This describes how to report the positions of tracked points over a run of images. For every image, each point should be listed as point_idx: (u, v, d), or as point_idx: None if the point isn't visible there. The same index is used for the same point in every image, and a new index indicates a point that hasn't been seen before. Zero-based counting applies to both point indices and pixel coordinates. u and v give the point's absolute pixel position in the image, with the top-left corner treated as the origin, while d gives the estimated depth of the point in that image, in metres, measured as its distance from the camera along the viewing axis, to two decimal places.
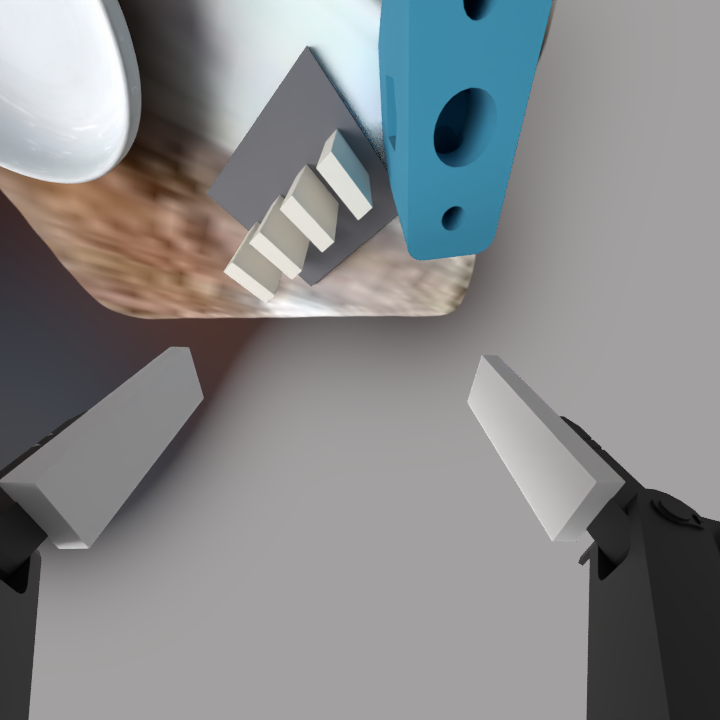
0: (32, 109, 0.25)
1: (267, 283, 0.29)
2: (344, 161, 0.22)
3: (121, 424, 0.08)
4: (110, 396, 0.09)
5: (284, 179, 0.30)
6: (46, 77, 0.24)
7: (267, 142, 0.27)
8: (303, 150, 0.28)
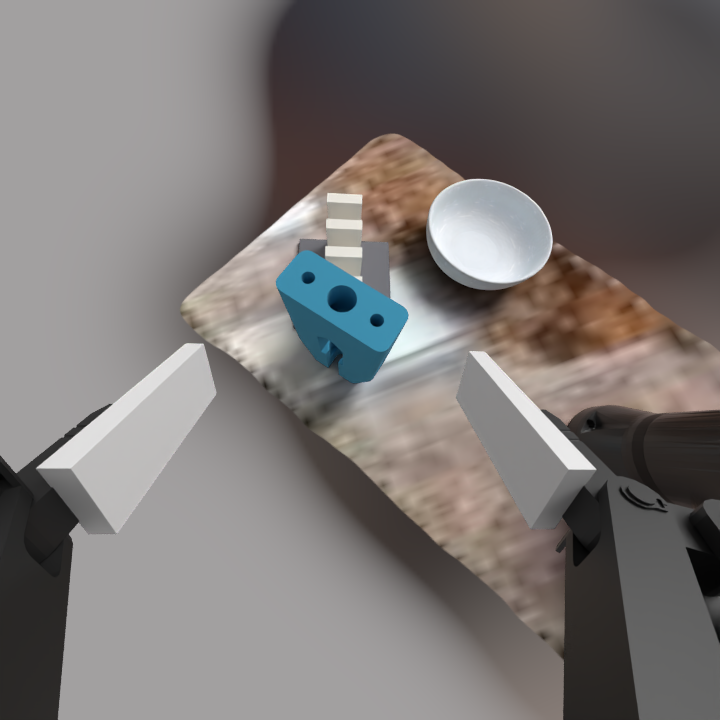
0: (459, 219, 0.51)
1: (335, 207, 0.39)
2: None
3: (144, 416, 0.08)
4: (133, 389, 0.09)
5: None
6: (459, 236, 0.50)
7: (380, 286, 0.47)
8: None
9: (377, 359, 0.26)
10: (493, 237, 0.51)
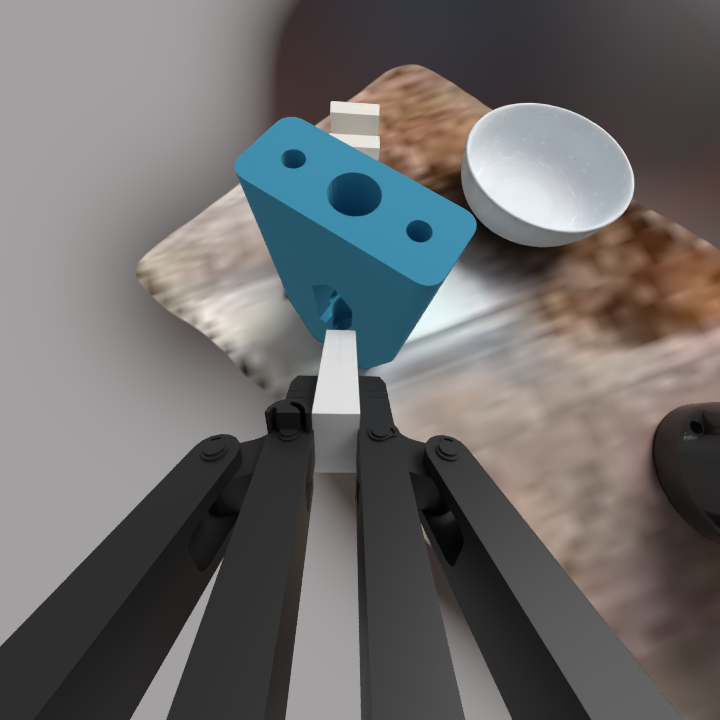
0: (501, 162, 0.40)
1: (341, 122, 0.28)
2: None
3: None
4: None
5: None
6: (501, 183, 0.39)
7: None
8: None
9: (415, 310, 0.15)
10: (544, 185, 0.39)
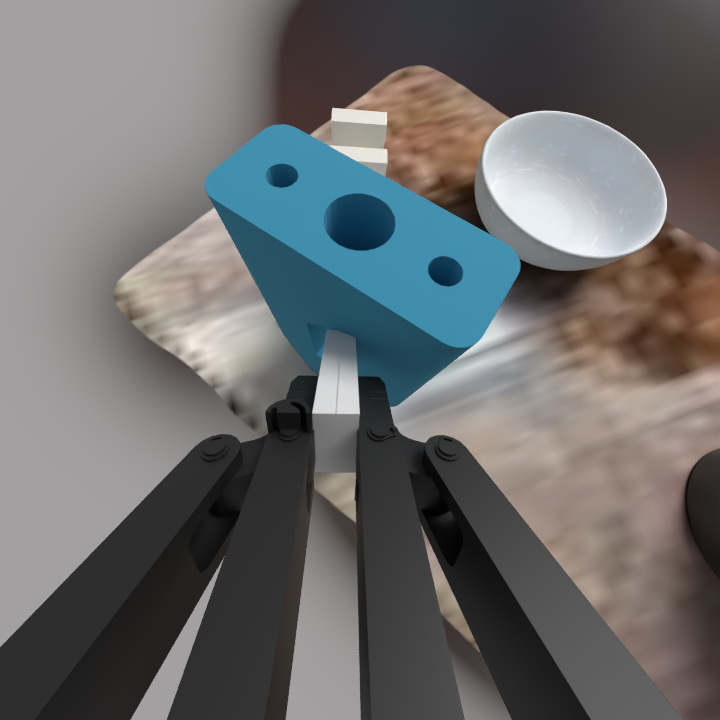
0: (516, 174, 0.36)
1: (344, 132, 0.25)
2: None
3: None
4: (321, 363, 0.11)
5: None
6: (517, 197, 0.36)
7: None
8: None
9: (436, 368, 0.11)
10: (564, 199, 0.36)
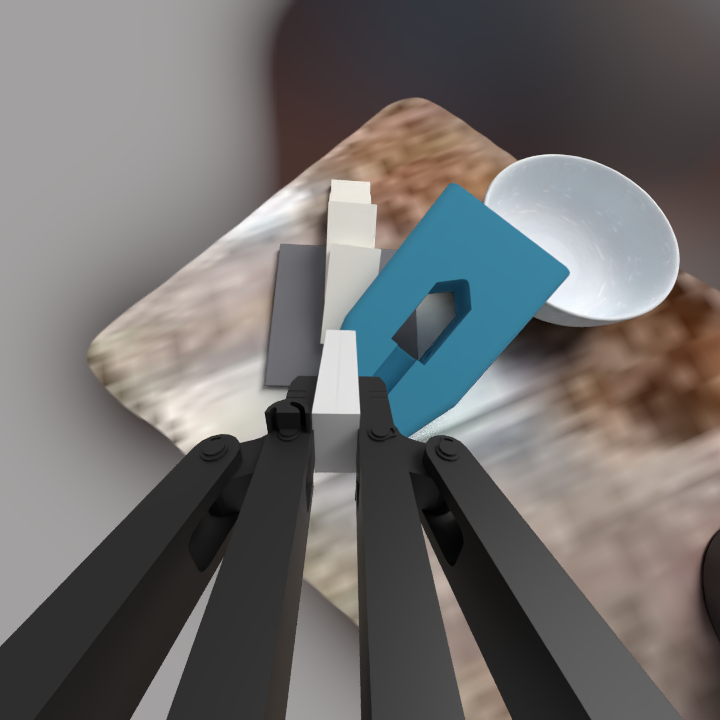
0: (519, 216, 0.35)
1: (340, 185, 0.35)
2: (364, 270, 0.27)
3: None
4: None
5: None
6: None
7: None
8: None
9: (546, 297, 0.21)
10: (568, 243, 0.34)
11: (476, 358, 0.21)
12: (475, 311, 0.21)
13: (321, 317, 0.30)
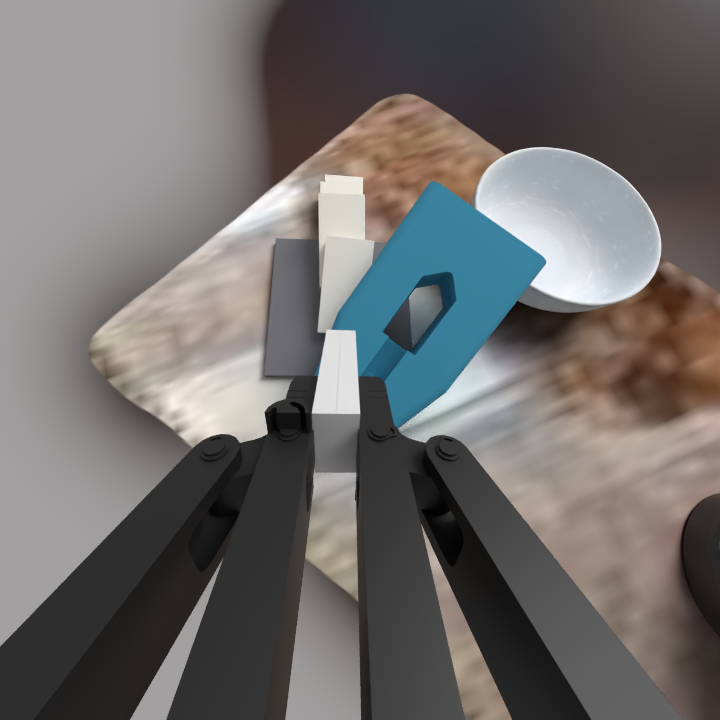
0: (509, 208, 0.36)
1: (333, 180, 0.36)
2: (358, 260, 0.28)
3: None
4: None
5: None
6: (510, 231, 0.35)
7: None
8: None
9: (525, 285, 0.22)
10: (557, 233, 0.36)
11: (463, 346, 0.23)
12: (460, 301, 0.23)
13: (317, 309, 0.31)
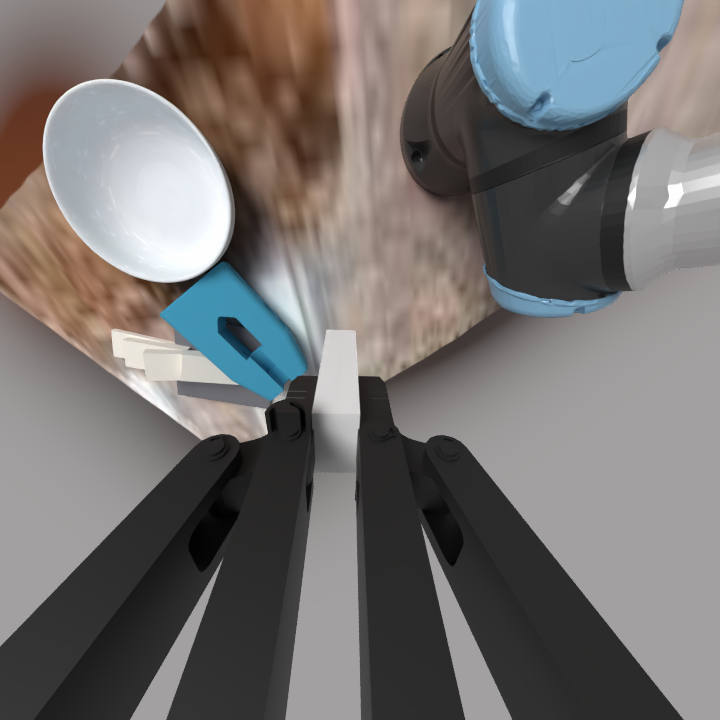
0: (120, 207, 0.37)
1: (118, 351, 0.47)
2: (197, 363, 0.44)
3: None
4: None
5: None
6: (148, 215, 0.38)
7: None
8: None
9: (233, 277, 0.39)
10: (142, 160, 0.36)
11: (263, 319, 0.41)
12: (236, 315, 0.40)
13: None
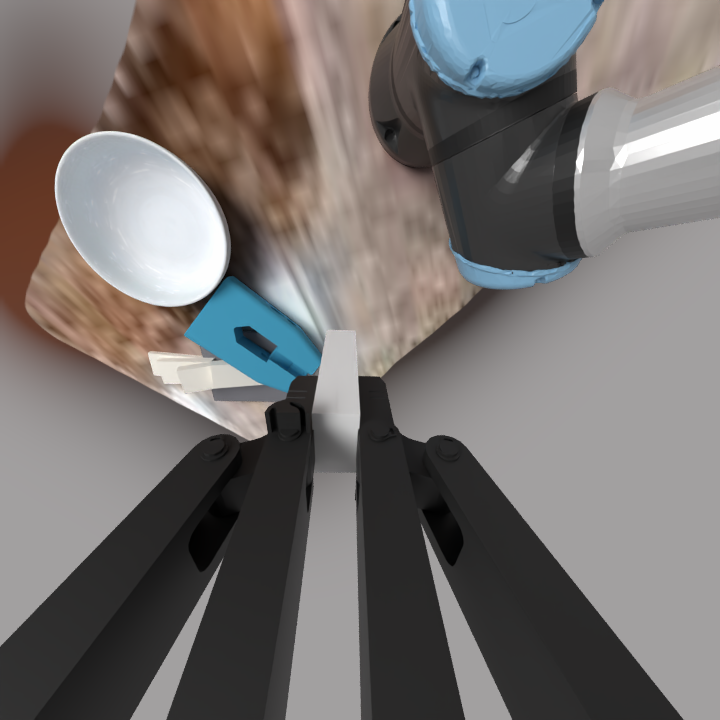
0: (131, 244, 0.41)
1: (157, 370, 0.53)
2: (225, 371, 0.49)
3: None
4: (321, 363, 0.11)
5: None
6: (155, 246, 0.42)
7: None
8: None
9: (240, 289, 0.42)
10: (140, 197, 0.39)
11: (273, 323, 0.44)
12: (249, 323, 0.44)
13: None
